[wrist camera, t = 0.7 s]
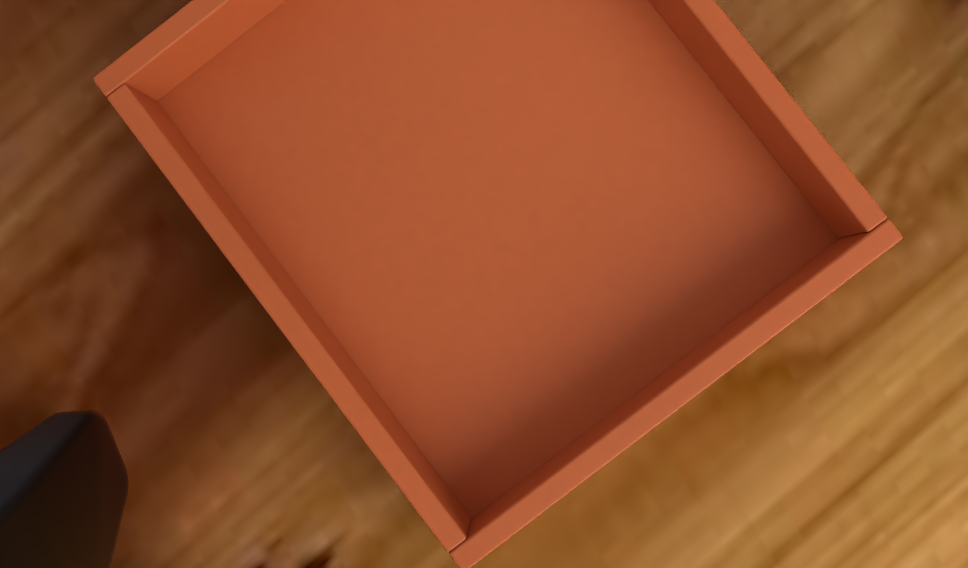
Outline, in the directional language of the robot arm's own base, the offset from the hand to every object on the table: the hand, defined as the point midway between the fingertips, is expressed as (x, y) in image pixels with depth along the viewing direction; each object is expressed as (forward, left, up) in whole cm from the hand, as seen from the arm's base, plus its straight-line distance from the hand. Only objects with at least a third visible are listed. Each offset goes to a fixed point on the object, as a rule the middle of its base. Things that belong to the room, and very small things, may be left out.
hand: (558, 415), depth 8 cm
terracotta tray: (+4, -2, -15) cm, 16 cm away
